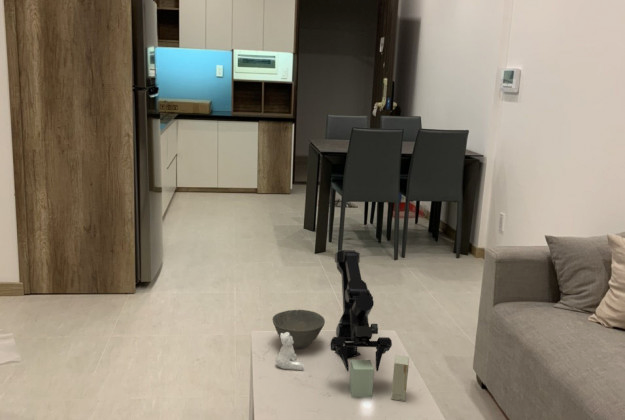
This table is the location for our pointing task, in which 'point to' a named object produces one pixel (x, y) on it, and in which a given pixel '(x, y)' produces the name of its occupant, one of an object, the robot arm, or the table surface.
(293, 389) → the table surface
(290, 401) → the table surface
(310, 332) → the bowl
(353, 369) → the mint green pillar
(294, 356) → the white creature statuette
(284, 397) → the table surface
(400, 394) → the skincare box
